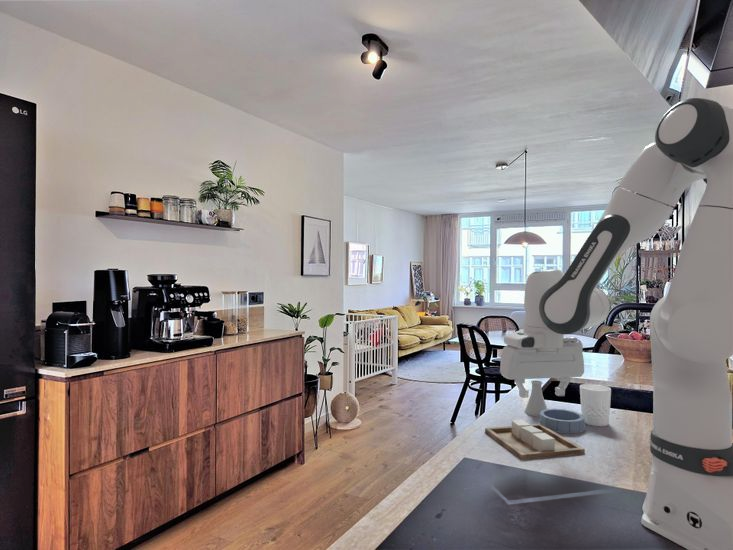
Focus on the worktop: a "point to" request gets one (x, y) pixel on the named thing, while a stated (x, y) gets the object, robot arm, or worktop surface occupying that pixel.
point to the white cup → (595, 404)
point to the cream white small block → (529, 434)
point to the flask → (535, 400)
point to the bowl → (562, 420)
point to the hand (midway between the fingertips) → (541, 396)
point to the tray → (527, 451)
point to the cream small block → (518, 427)
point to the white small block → (543, 442)
